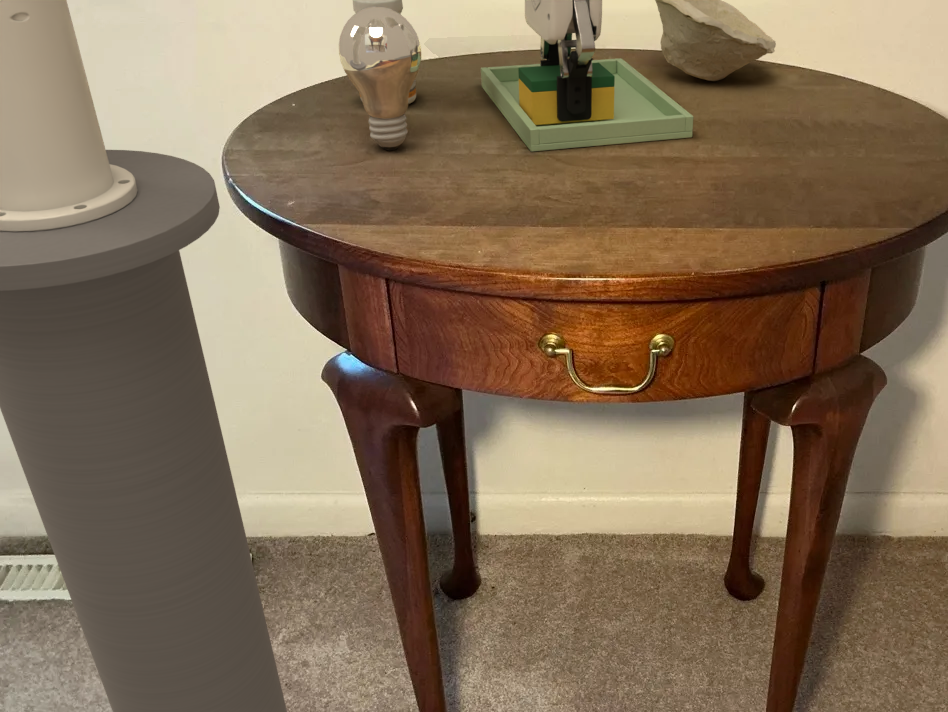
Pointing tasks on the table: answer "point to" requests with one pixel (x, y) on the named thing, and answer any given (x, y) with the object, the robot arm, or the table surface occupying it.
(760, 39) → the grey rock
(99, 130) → the robot arm
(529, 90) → the sponge
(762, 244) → the table surface
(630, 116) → the tray
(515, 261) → the table surface
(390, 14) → the light bulb
